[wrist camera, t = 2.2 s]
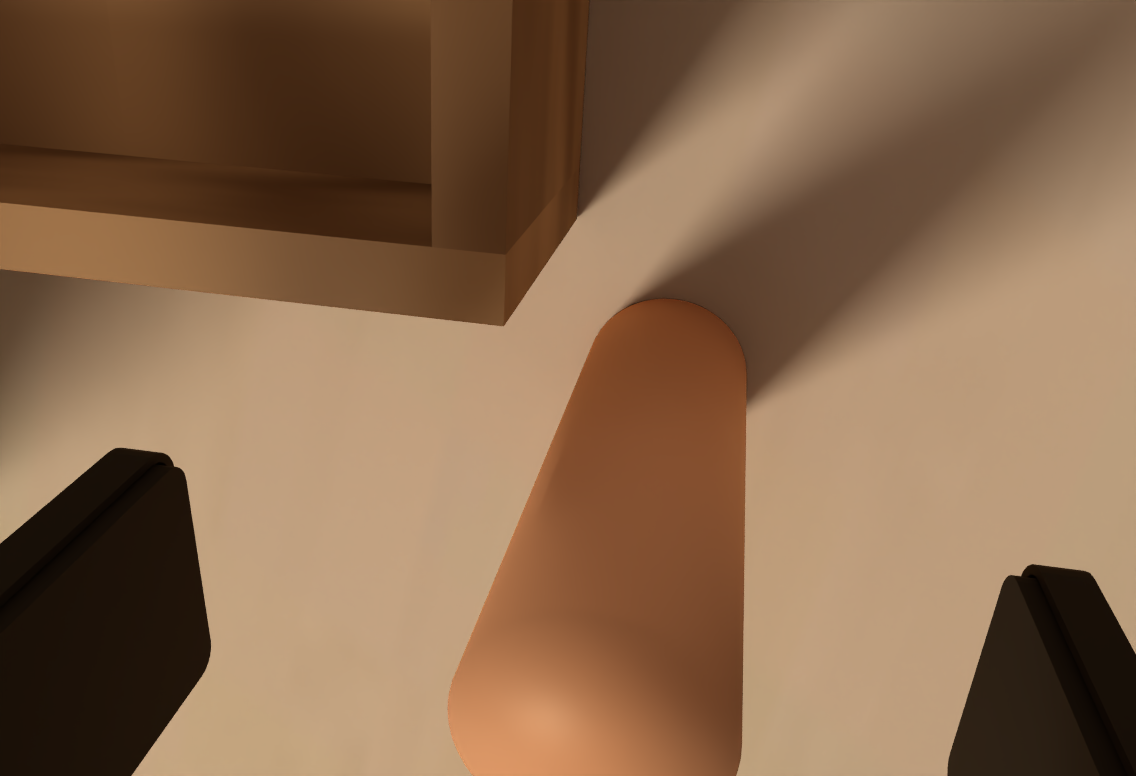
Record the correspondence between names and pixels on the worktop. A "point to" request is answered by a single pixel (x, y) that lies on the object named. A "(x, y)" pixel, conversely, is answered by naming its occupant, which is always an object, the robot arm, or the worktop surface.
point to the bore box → (294, 147)
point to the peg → (623, 571)
